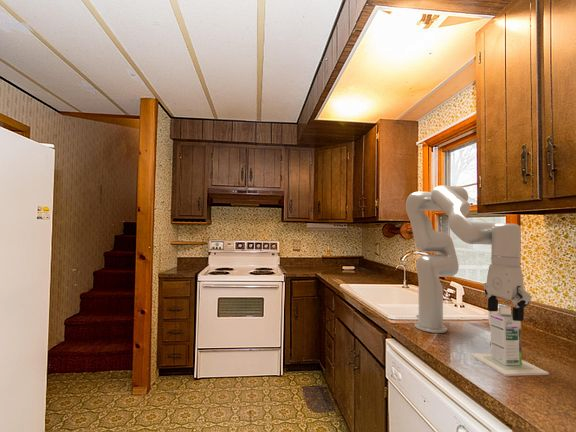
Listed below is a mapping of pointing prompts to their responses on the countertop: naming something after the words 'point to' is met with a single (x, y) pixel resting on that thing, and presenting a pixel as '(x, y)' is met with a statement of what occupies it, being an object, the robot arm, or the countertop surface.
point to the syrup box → (505, 339)
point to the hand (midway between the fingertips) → (504, 315)
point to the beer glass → (500, 312)
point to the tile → (509, 366)
